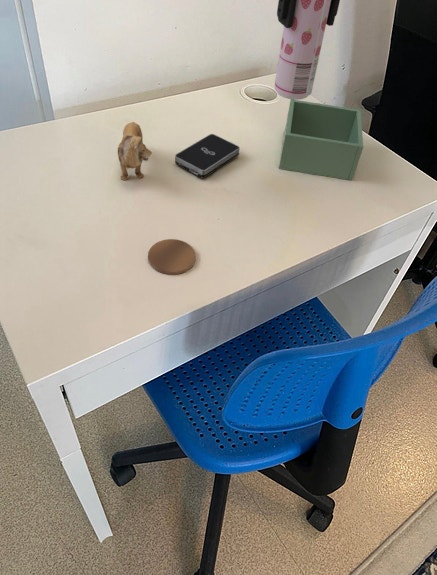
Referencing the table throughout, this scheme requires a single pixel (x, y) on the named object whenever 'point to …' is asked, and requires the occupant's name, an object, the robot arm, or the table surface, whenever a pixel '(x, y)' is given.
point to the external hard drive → (207, 155)
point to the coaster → (171, 256)
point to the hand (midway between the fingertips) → (305, 21)
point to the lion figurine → (132, 150)
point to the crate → (322, 140)
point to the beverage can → (301, 49)
